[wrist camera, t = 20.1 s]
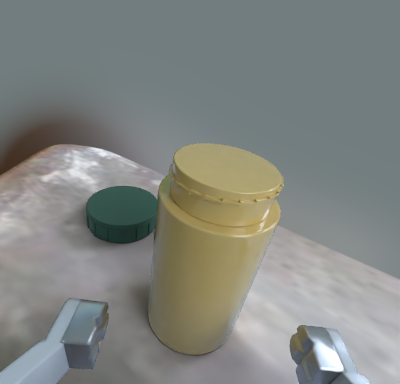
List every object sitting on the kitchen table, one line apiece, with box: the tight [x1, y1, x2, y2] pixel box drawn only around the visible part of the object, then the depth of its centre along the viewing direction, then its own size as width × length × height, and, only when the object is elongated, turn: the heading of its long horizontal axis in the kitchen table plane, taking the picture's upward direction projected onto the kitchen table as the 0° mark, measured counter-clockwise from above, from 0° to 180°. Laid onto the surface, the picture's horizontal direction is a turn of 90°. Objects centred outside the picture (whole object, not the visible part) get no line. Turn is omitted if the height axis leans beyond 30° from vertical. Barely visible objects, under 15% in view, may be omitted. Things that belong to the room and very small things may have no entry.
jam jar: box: [148, 144, 284, 355], centre depth 13 cm, size 6×6×11 cm
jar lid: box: [86, 186, 157, 243], centre depth 22 cm, size 6×6×2 cm
